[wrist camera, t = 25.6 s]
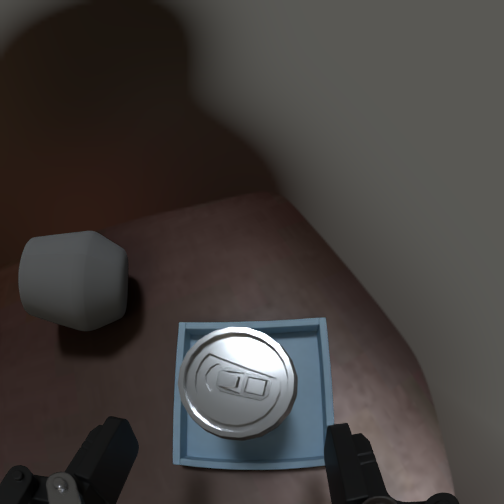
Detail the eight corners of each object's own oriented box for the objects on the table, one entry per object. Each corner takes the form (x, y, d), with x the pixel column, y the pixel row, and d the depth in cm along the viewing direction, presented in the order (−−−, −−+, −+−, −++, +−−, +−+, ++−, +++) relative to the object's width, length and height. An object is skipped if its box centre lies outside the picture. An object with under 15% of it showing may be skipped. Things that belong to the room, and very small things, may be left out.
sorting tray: (181, 460, 19) (172, 463, 17) (186, 330, 25) (179, 322, 23) (330, 460, 18) (335, 464, 16) (321, 325, 25) (325, 317, 23)
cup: (127, 345, 26) (40, 337, 23) (131, 267, 31) (53, 261, 28) (119, 311, 19) (5, 299, 15) (130, 212, 24) (33, 206, 20)
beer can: (294, 374, 22) (310, 333, 12) (280, 435, 19) (285, 454, 9) (230, 361, 23) (192, 311, 13) (214, 421, 20) (159, 421, 10)
